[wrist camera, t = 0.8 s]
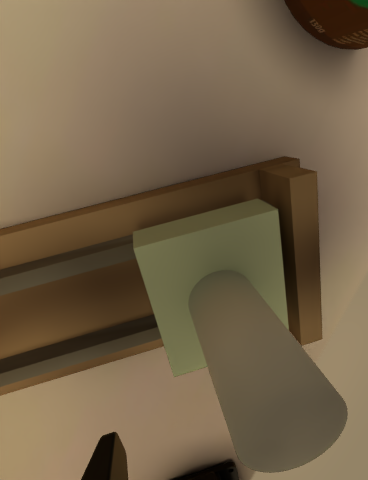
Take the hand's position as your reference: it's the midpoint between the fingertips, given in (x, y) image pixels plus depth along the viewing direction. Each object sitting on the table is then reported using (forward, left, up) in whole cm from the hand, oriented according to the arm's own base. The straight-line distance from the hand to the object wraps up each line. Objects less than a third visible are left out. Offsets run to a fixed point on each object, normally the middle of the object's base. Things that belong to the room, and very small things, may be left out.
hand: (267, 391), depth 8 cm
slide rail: (0, +5, -10) cm, 11 cm away
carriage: (0, 0, -7) cm, 7 cm away
